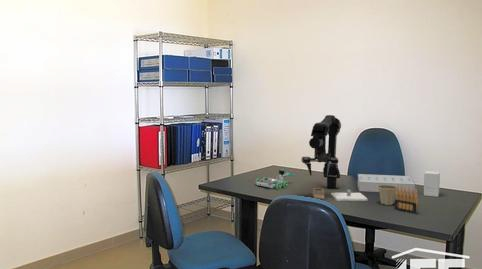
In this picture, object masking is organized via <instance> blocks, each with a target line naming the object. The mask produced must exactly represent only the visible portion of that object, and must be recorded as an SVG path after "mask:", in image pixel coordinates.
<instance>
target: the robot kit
mask: <svg viewBox="0 0 482 269" xmlns="http://www.w3.org/2000/svg"><path fill="white" fill-rule="evenodd" d="M278 174H279V175H276V178H271V177H267V176H264V177H263V178H262V179H261V178H259V177H258V178H256V179H255V181H254V183H255V185H256V186H259V187H260V186H261V187H265V188H270V189H273V188H274V189H275V190H277V189H279V190H281V189H282V188H285V189H287V188H288V187H289V181H287V180H284V178H286V177H290V178H291V177H293V176H294V173H289V172H285V169H281V168H280V169H278ZM260 184H261V185H260ZM286 187H287V188H286Z"/></svg>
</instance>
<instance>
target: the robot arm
mask: <svg viewBox="0 0 482 269" xmlns="http://www.w3.org/2000/svg"><path fill="white" fill-rule="evenodd" d="M341 128H342V122H341V120H340V119H338V118H337V117H336V115H333V114H328V115H327V114H326V115H325V116H324V118H323V119H322V120H321V121H320V122H316V123H314V124H313V126H312V130H311V134H310V137H312V138H310V140H309V141H308V145H309V147H310V148H312V149H314V153H313V154H314V157H310V156H301V163H303V164H304V165H306V168H307V170H308V173H309V176H310V177H312V166H311V165H312V163H313V162H315V163H316V162H317V163H324V164H323V166H324V167H323V168H322V169H323V170H322V173H323V178H326V184H325V185H324V187H325V188H326V189H329V190H330V189H332V190H333V189H339V187H338V186H337V184H338V179H340V178H341V173H340V169H339V165H338V164H339V159H338V157H337V156H336V155H337V139H338V135H339V133H340V132H341ZM327 136H328V147H327V145H326V143H327V142H326V141H327V140H326V139H327ZM326 148H327V151H326ZM311 162H312V163H311Z"/></svg>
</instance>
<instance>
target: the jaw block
mask: <svg viewBox="0 0 482 269" xmlns="http://www.w3.org/2000/svg"><path fill="white" fill-rule="evenodd" d="M325 191H326V190H324V188H322V187H313V188H312V196H313V198H314V199H325Z"/></svg>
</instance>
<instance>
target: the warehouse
mask: <svg viewBox="0 0 482 269" xmlns="http://www.w3.org/2000/svg"><path fill="white" fill-rule="evenodd" d="M379 185H392V186H396V187H397V185H398V186H399V194H400V187H401V186H402V189H403V192H404V187H406V194H407V190H408V187H409V188H410V194H411V189H412V187H413V190H414V194H415V189H416V183H415V181H414V180H413V178H412V176H411V175H398V174H397V175H395V174H394V175H393V174H392V175H391V174H367V173H357V188H358V191H359V192H371V193H379V188H378V186H379ZM395 194H396V192H395Z"/></svg>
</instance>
